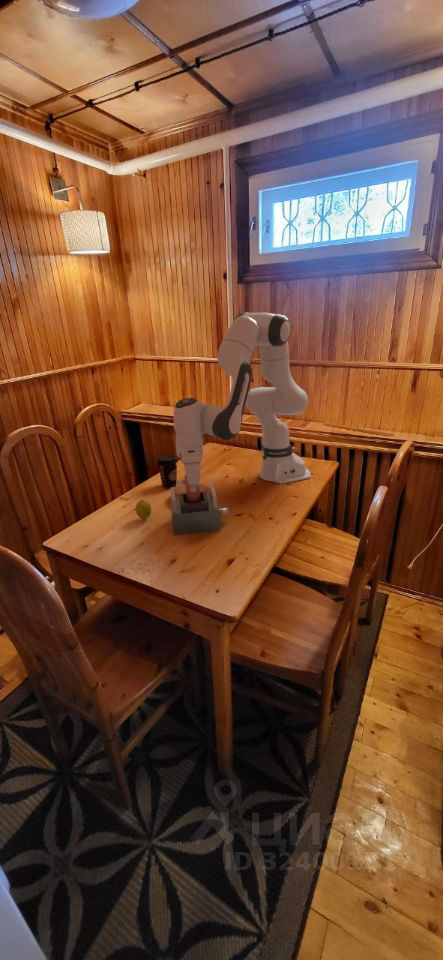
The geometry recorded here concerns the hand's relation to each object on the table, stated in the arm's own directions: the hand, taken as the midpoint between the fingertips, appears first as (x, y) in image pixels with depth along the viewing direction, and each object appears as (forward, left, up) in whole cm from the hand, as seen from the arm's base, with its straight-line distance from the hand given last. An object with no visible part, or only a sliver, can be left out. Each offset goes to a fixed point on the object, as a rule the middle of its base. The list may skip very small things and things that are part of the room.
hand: (192, 487), depth 139 cm
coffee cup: (+8, -36, -15) cm, 40 cm away
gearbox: (-2, 0, -15) cm, 15 cm away
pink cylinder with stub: (+1, 0, -5) cm, 5 cm away
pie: (0, -21, -15) cm, 26 cm away
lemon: (+18, -8, -15) cm, 25 cm away
